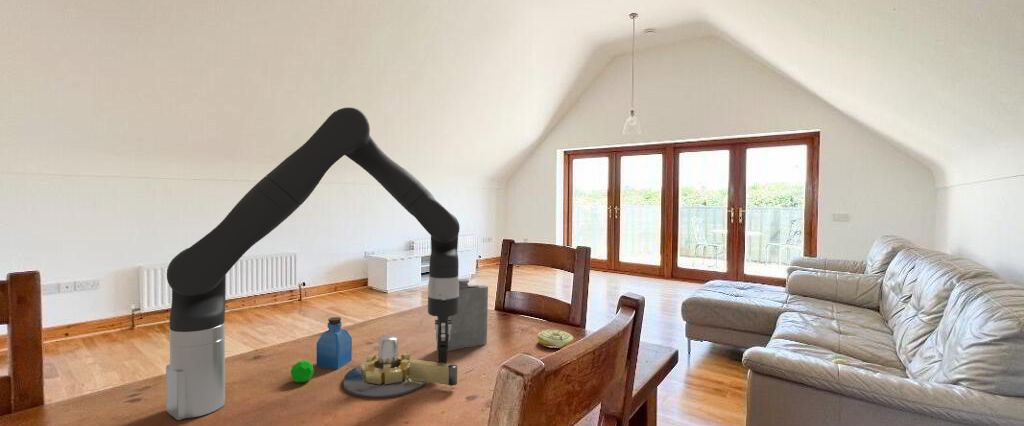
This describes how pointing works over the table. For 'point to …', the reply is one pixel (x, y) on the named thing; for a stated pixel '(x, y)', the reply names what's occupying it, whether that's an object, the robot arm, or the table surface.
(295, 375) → the polyhedron
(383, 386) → the flange
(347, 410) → the table surface
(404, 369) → the ring wrench
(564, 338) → the decorated donut
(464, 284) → the hip flask
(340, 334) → the perfume bottle
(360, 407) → the table surface
